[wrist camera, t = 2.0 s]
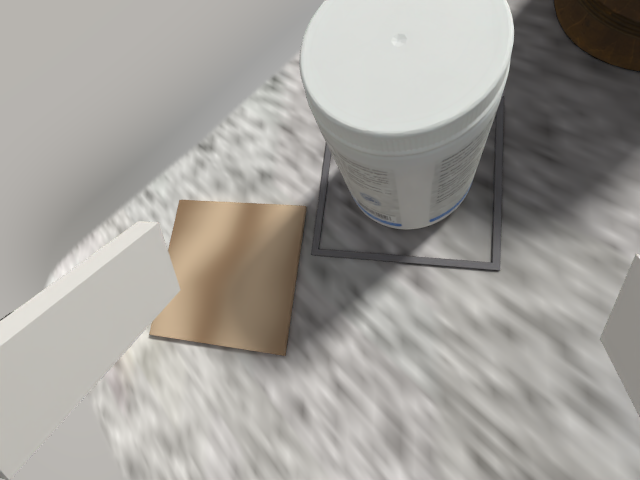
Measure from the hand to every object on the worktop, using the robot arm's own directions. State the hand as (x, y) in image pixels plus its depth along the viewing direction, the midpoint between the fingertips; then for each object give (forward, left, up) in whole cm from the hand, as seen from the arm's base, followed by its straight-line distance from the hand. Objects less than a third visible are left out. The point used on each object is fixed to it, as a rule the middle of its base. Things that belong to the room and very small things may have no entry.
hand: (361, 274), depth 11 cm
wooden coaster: (+14, -2, -18) cm, 23 cm away
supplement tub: (0, -11, -18) cm, 21 cm away
